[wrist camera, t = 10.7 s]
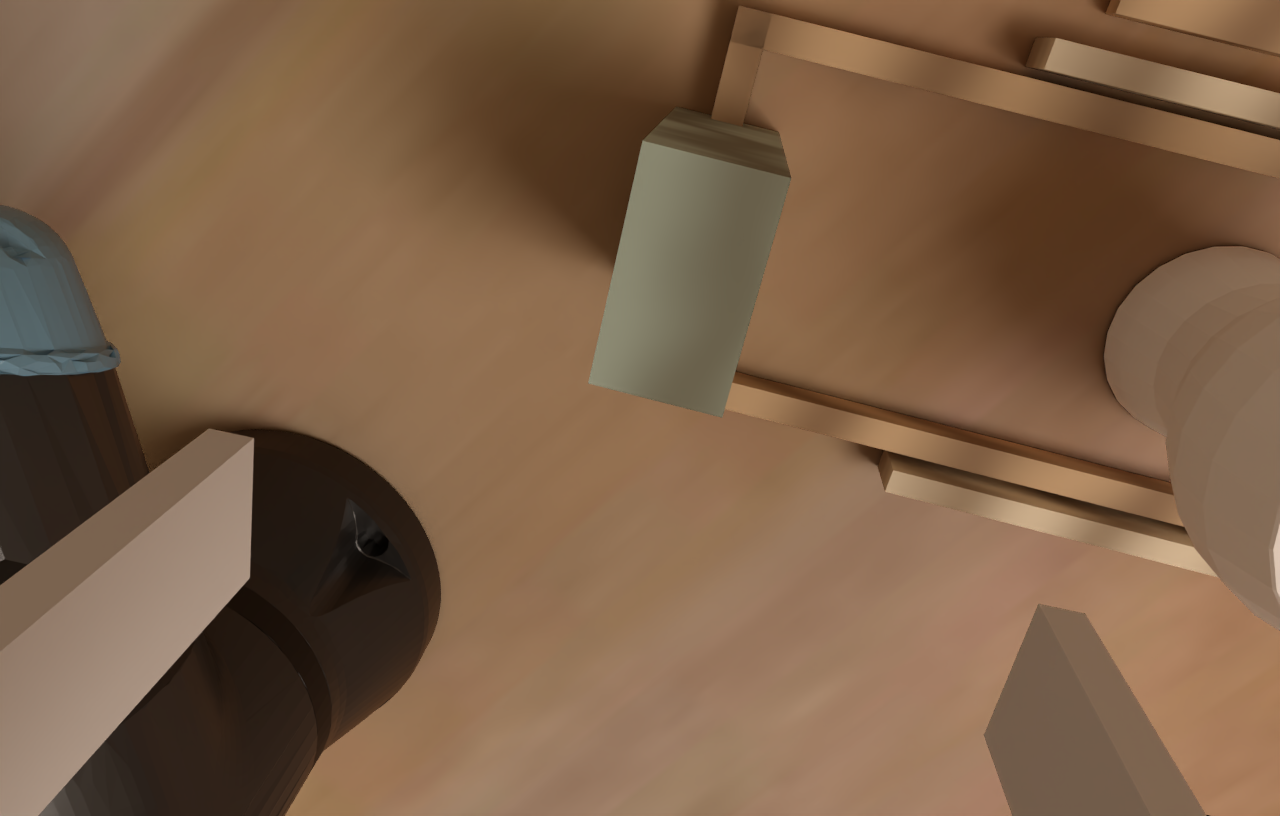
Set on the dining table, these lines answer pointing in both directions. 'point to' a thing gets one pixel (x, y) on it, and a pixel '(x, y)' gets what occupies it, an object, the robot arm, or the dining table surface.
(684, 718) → the dining table surface
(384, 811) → the dining table surface
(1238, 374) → the cup
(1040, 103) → the rail with green post
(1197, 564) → the lane rails
